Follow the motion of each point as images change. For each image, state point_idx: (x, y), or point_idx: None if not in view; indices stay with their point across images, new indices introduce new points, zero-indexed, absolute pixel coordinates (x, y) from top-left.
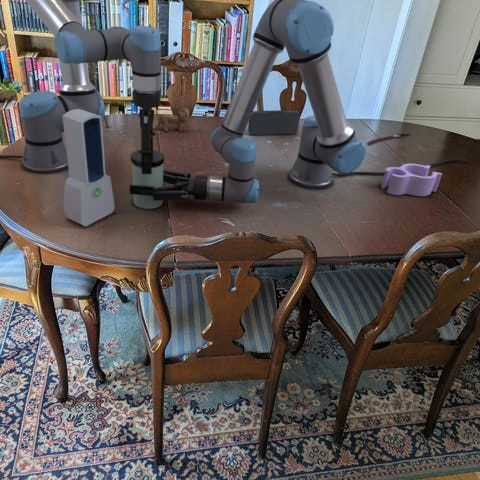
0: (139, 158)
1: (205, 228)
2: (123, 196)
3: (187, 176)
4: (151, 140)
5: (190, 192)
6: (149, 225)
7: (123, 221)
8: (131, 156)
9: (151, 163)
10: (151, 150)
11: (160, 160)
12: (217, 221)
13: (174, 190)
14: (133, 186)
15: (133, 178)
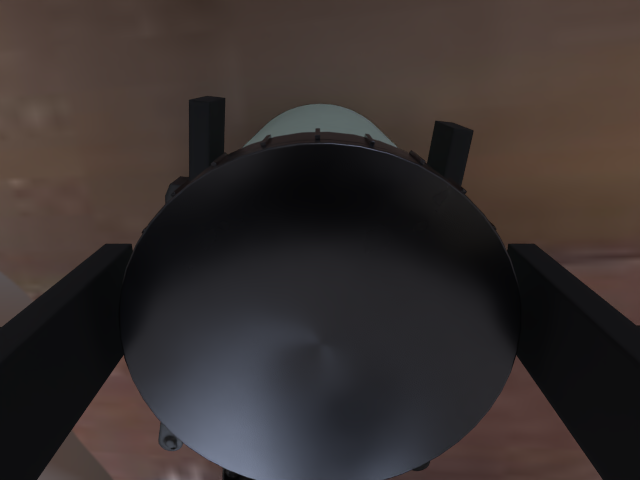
0: (211, 260)
1: (105, 419)
2: (382, 34)
3: None
4: (605, 461)
5: None
6: (77, 202)
7: (86, 62)
8: (258, 153)
9: (91, 391)
10: (476, 377)
11: (215, 458)
12: (170, 460)
13: None
14: (189, 132)
15: (270, 131)
